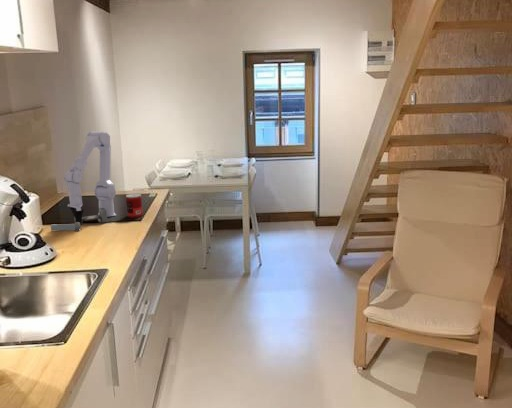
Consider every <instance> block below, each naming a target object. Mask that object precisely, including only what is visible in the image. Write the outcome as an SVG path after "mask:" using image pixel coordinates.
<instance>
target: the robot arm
mask: <svg viewBox="0 0 512 408" xmlns="http://www.w3.org/2000/svg"><path fill="white" fill-rule="evenodd" d="M85 141H86V142H85V144H84V146H83V148H82V151H81V153H80V154H79V155H80V156H77V157H75V159H74V160H73V163H72V165H71V167H70V169H69V170H68V171H66V173H65V174H64V177H63V180H64V182H66V183H65V184H66V186H67V190H68V199H69V203H68V204H67V207H69V209H70V211H71V213H72V215H73V217H74V216H75V220H76V222H80V223H81V222H82V223H83V221H82V217H83V214H84V211H85V209H84V208H83V205H84V203H83V198H82V197H83V196H82V189H81V181H82V180H83V172H84V171H85V168H86V166H87V164H88V161H87V159H88V158H89V156H90V155H91V153H92V152H93V150H94V149H95V148H97V149H98V150H99V180H98V181H97V182H96V183H95V189H94V195H95V197H96V198H97V200H98V209H99V208H105V209H106V213H107V218H108V217H117V213H115V206H114V199H115V196H116V191H117V190H116V187H115V183H113V182H112V181H111V165H112V164H111V163H112V162H111V161H112V160H111V158H112V157H111V155H112V152H111V151H112V146H111V135H110V134H109V133H108V132H107V131H103V130H102V131H96V130H95V131H93V130H90V131H89V132H88V133H87V136H86V137H85ZM97 215H100V213H99V212H98V213H97ZM75 220H74V221H75Z"/></svg>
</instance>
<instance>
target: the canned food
mask: <svg viewBox="0 0 512 408" xmlns="http://www.w3.org/2000/svg"><path fill="white" fill-rule="evenodd" d="M125 200H126V201H125V202H126V211H127V212H126V213H127V214H126V215H127V217H128V218H141V217H142V216H143V213H144V212H143V201H142V194H141V193H129V194H126V196H125Z"/></svg>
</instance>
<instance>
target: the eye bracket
mask: <svg viewBox="0 0 512 408" xmlns="http://www.w3.org/2000/svg"><path fill="white" fill-rule="evenodd" d="M98 213H100V214H101V217H102V219H97V222H98V223H99V224H105V222H106V223H110V222H111V220H110V219H109V218H108V217H107V213H106V209H105V208H99V207H98Z"/></svg>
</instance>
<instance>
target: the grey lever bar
mask: <svg viewBox="0 0 512 408" xmlns="http://www.w3.org/2000/svg"><path fill="white" fill-rule="evenodd" d="M50 229H51V231H52V232H54V231H74V230H80V229H81V225H80V222H76V223H75V222H74V223H61V224H60V223H59V224H57V223H56V224H55V223H54V224H50Z"/></svg>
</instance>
